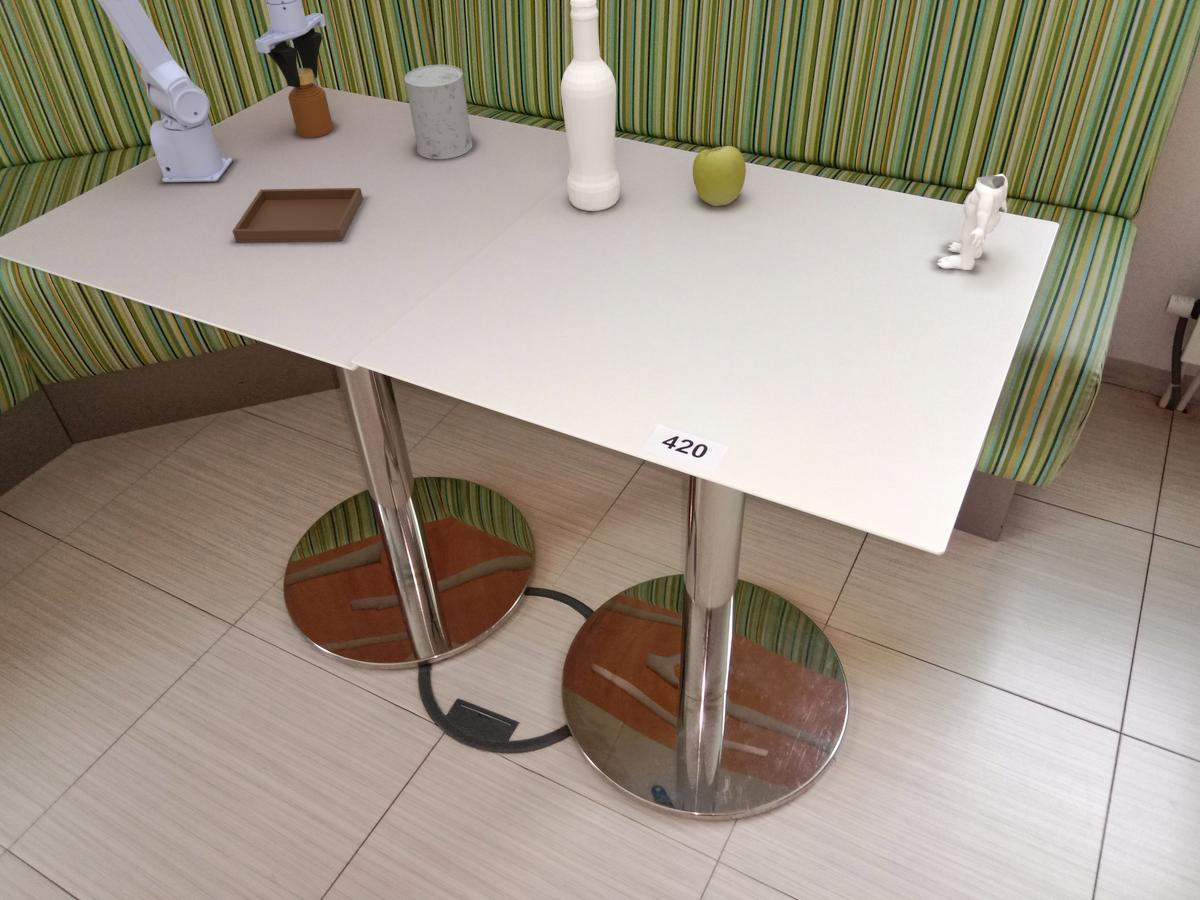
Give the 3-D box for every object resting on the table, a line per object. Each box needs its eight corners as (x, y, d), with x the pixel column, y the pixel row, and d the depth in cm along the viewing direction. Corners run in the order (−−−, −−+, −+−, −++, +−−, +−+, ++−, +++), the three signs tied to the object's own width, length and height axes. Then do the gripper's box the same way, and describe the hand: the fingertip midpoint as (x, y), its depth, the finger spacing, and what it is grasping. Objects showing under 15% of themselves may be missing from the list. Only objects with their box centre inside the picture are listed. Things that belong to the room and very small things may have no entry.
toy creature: (956, 236, 137) (974, 156, 129) (999, 246, 134) (1021, 165, 126) (927, 275, 130) (945, 193, 122) (973, 287, 127) (993, 204, 119)
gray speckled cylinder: (438, 164, 161) (426, 91, 153) (406, 147, 167) (392, 76, 159) (483, 146, 166) (474, 74, 158) (451, 130, 171) (440, 60, 163)
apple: (754, 204, 144) (737, 143, 138) (702, 219, 146) (683, 160, 140) (751, 180, 150) (735, 120, 144) (702, 195, 152) (683, 137, 146)
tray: (236, 242, 145) (232, 231, 143) (263, 200, 155) (260, 189, 153) (341, 241, 144) (338, 229, 142) (363, 198, 153) (360, 187, 152)
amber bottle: (294, 139, 172) (280, 85, 165) (300, 124, 176) (286, 71, 170) (331, 136, 172) (318, 82, 165) (335, 121, 176) (323, 68, 170)
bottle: (615, 214, 146) (607, 5, 126) (562, 211, 147) (546, 4, 127) (624, 189, 152) (618, -14, 132) (574, 186, 153) (560, -15, 133)
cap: (290, 86, 167) (287, 77, 166) (293, 77, 169) (291, 68, 168) (313, 84, 167) (310, 75, 166) (316, 76, 170) (313, 66, 169)
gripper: (295, -17, 165) (314, 63, 174) (233, 9, 156) (256, 93, 165) (326, -12, 163) (344, 69, 172) (265, 15, 153) (287, 99, 162)
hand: (303, 81), depth 168 cm, fingers closed on cap, 4 cm apart
